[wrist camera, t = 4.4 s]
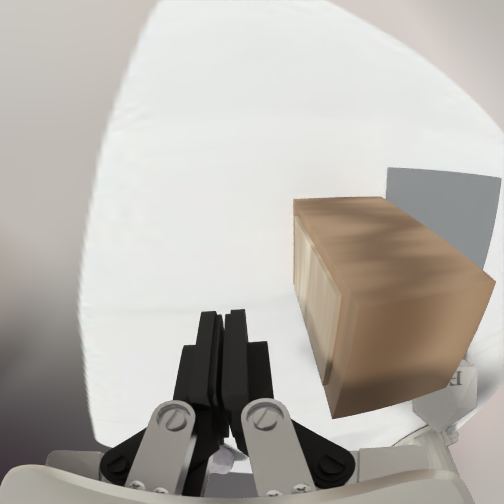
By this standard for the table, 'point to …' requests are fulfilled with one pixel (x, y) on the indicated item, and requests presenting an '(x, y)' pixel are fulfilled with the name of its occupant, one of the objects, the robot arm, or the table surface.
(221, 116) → the table surface
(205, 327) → the robot arm
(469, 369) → the die
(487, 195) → the pad
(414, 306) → the walnut block
